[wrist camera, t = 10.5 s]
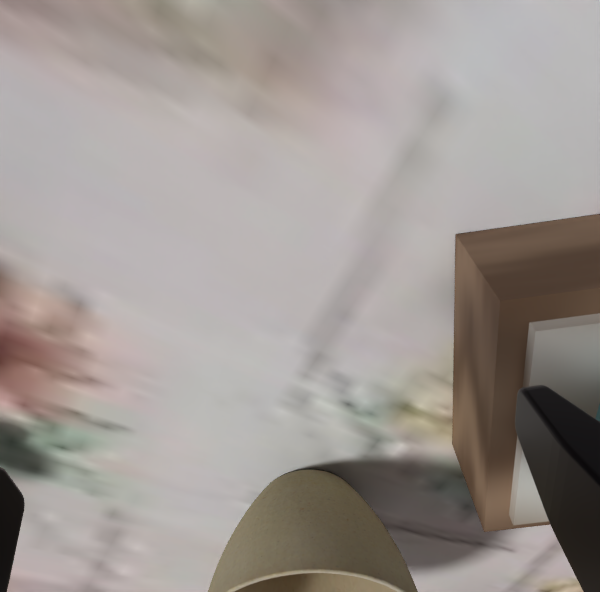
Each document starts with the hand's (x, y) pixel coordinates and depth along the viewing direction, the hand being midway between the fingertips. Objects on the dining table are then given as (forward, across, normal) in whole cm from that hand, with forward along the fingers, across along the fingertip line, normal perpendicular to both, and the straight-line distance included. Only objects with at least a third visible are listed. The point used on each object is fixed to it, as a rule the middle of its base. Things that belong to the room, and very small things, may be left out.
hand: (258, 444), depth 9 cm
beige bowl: (+12, +1, +18) cm, 22 cm away
